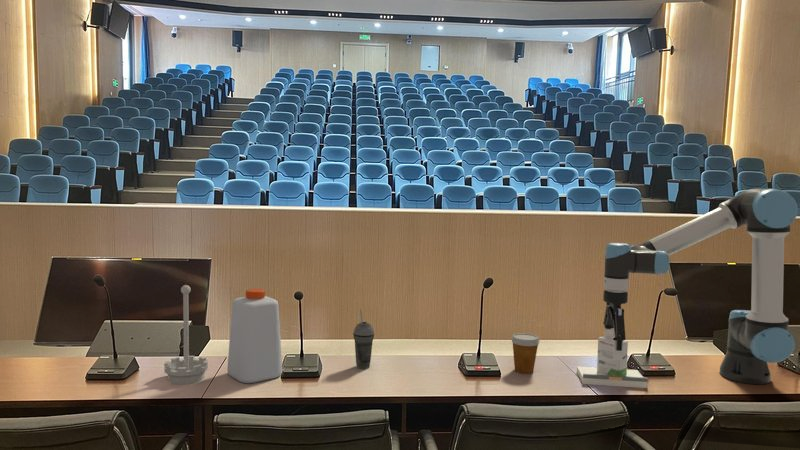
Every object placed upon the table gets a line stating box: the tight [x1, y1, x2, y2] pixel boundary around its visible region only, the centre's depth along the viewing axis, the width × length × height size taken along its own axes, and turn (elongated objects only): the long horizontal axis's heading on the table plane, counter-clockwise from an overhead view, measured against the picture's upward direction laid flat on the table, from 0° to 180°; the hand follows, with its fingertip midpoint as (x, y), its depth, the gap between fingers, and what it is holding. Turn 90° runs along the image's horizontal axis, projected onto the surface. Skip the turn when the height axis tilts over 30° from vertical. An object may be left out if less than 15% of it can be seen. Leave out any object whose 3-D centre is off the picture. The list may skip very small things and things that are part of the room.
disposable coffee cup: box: [511, 332, 541, 374], centre depth 206 cm, size 10×10×12 cm
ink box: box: [596, 335, 629, 376], centre depth 199 cm, size 9×5×12 cm, turn 36°
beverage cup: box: [352, 309, 375, 370], centre depth 205 cm, size 7×7×20 cm
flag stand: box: [163, 284, 209, 385], centre depth 189 cm, size 13×13×30 cm
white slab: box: [576, 365, 649, 389], centre depth 199 cm, size 20×12×3 cm, turn 83°
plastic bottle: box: [227, 288, 283, 384], centre depth 194 cm, size 15×15×28 cm
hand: (612, 353), depth 198 cm, fingers open, 13 cm apart
